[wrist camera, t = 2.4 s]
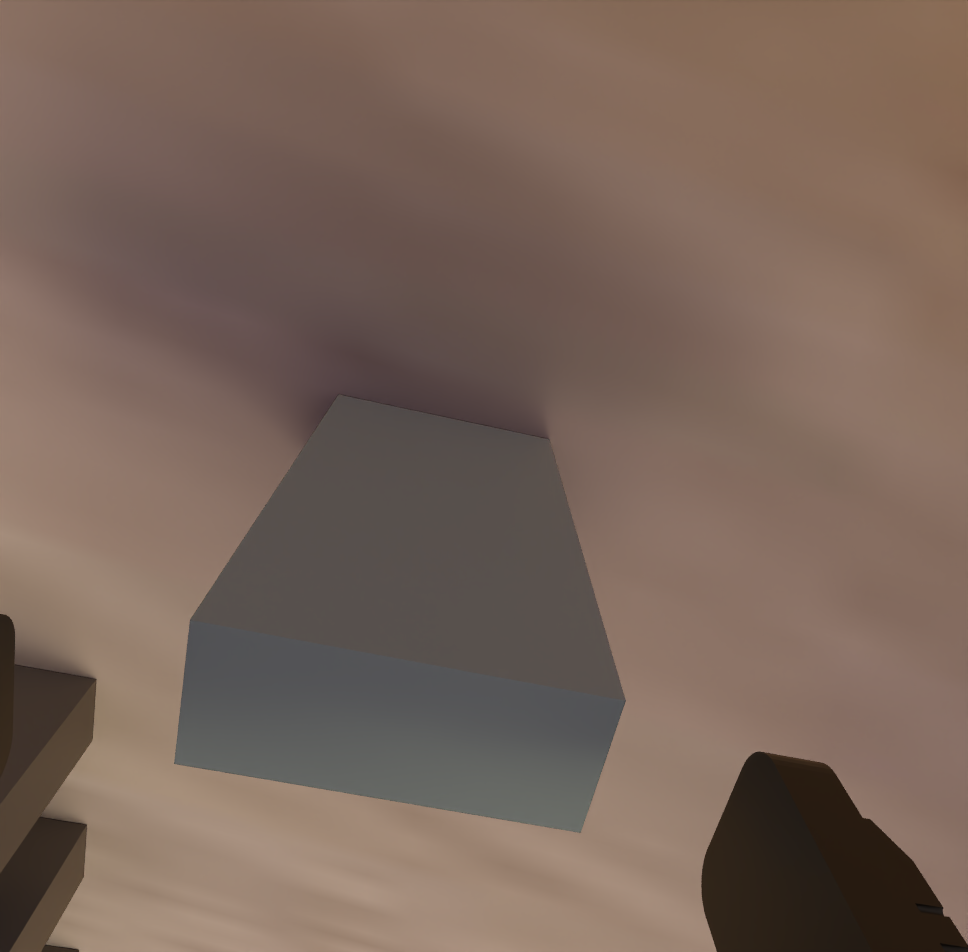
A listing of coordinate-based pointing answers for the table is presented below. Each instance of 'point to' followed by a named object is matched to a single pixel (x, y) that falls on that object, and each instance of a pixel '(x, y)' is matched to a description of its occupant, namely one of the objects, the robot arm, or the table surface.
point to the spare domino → (409, 627)
